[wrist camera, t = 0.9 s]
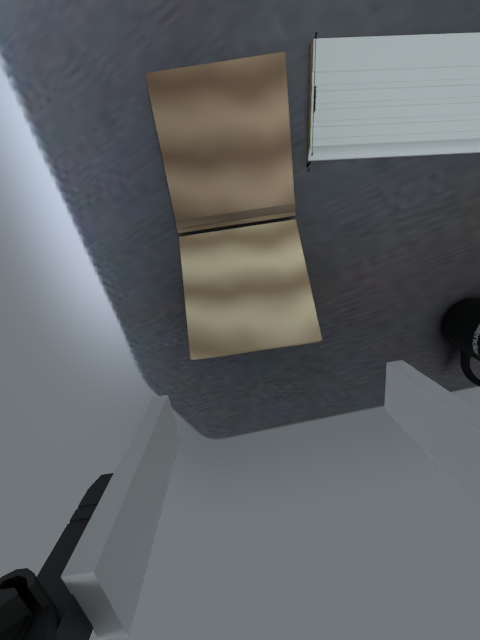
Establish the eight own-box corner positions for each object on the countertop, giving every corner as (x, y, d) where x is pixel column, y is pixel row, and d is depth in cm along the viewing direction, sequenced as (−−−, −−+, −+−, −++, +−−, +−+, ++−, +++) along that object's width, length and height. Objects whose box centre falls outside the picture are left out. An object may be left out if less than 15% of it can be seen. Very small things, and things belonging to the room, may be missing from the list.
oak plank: (183, 245, 30) (178, 236, 28) (292, 229, 30) (295, 219, 28) (194, 359, 27) (190, 359, 25) (316, 342, 27) (322, 339, 25)
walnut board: (151, 86, 25) (143, 70, 23) (280, 66, 25) (285, 49, 23) (181, 233, 30) (177, 233, 28) (291, 217, 30) (296, 215, 27)
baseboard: (548, 165, 30) (585, 39, 26) (581, 156, 27) (628, 15, 23) (304, 177, 29) (308, 50, 25) (312, 170, 26) (317, 26, 22)
